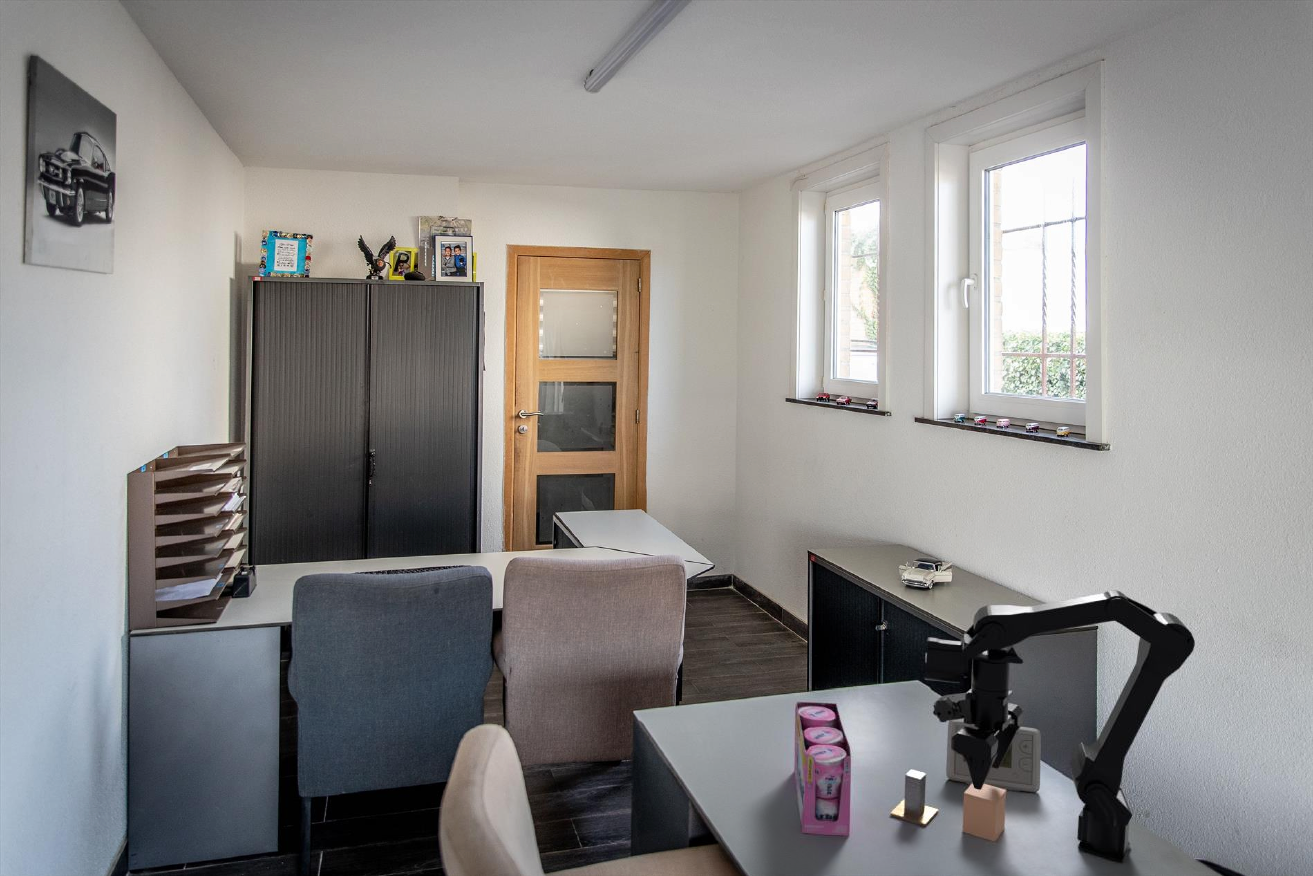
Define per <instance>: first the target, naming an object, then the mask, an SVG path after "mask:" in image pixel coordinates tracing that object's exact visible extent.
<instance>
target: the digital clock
mask: <svg viewBox="0 0 1313 876" xmlns="http://www.w3.org/2000/svg"><path fill="white" fill-rule="evenodd" d="M964 726H965V727H970V728H974V729H979V728H977V727H975V726H974V724H971V725H970V724H966V723H964V718H963V719H957V720H948V724H947V740H946V741H947V744H946V765H945V766H946V769H945V770H946V771H945V772H946V777H947V779H948V780H950V781H955V782H961V783H966V784H967V785H971V784H972V783H973V782H972V779H971V775H970V772H969V768H968V765H967V762H966V759H965V758H964V757H963V756H962V755H961V754H958V753H956V751H953V750H952V749H951V737H952V736H953V735H954V734H955V733H956V732H957V731H958V730H960V729H961V728H963V727H964ZM1041 737H1042V736H1041V731H1040V730H1039V729H1037V728H1033V727H1026V726H1020V729H1019V730H1018V732H1017V734H1016V736H1015V738H1014V740H1013V742H1012V743H1011V745H1010V747H1009V749H1008V751H1007V753H1006V755H1005V757H1004V759H1003V761H1002V763H1001V765H1000V767H999V768H998V769H996V768H993V767H991V769H990V772H989V774H988V776H987V778H986V780H985V783H984V784H987V785H991V786H994V787H998V788H1001V789H1005V790H1006V791H1013V790H1016V791H1015V792H1019V791H1022V792H1023V791H1024V792H1027V793H1028V792H1029V793H1038V792H1039V791H1040V789H1041V759H1042V758H1041V756H1042V755H1041V746H1042V744H1041V743H1042V741H1041V740H1042V739H1041Z"/></svg>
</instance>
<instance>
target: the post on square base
mask: <svg viewBox="0 0 1313 876" xmlns="http://www.w3.org/2000/svg"><path fill="white" fill-rule="evenodd" d="M926 779H927V773H925V772H923V771H918V770H916V769H910V770H909V771H908V772H907V773H905V777H904V798H903V799H902V801H901V802H899V803H898V804H897V806H896V807H895V808H894V809H893V810H892V811H891V812H890V814H889V815H890V816H891V817H894V818H897V819H900V820H903V821H906V822H909V823H912V824H915V825H918V826H922V827H925V828H926V826H927V825H929V823H930V822H931V821H932V820H933V818H934V817H935V816H936V815H937V814H938V813H939V809H938V808H934V807H930V806H928V805H926V787H927V786H926V783H927V780H926Z"/></svg>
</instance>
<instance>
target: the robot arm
mask: <svg viewBox="0 0 1313 876" xmlns="http://www.w3.org/2000/svg"><path fill="white" fill-rule="evenodd" d="M972 622H973V624H971V626H970V627H969V628H968V629H967V630H966V631H965V633H963V634H962V635H961V637H960V641H959V640H948V639H940V638H938V637H937V638H936V637H927V640H926V641H927V642H926V652H925V658H924V659H925V662H924V680H926V681H933V682H934V681H935V682H944V683H954V684H961V682H963V681H964V680H965V678H969V677H968V676H969V660H971V668H972V669H971V688H970V689H969V690H968V691H967V692H962V693H960V692H959V693H953V694H952V693H951V694H945V695H942V696H940V697H939V698H938V699H937V700H936V701H935V702H934V703H933V705H932V706H933V710H932V711H933V712H932V714H933V715H934V716H936V717H937V719H938V720H939V721H938V722H940V723H947V722H949V720H957V719H964V723H966V724H970V725H971V724H974V726H975V727H977V728H979V729H974V728H970V727H965V726H964V727H963V728H961V729H960V730H958V731H957V732H956V733H955V734H954V735H953V736H952V737H951V749H952V750H953V751H956V753H958V754H961V755H962V756H963V757H964V758H965V759H966V762H967V765H968V768H969V772H970V775H971V779H972V782H973V786H974V788H975V789H978V790H981V789H982V787H983V785H984V783H985V780H986V778H987V776H988V774H989V772H990V769H991V767H993V768H996V769H998V768H999V767H1000V765H1001V763H1002V761H1003V759H1004V757H1005V755H1006V753H1007V751H1008V749H1009V747H1010V745H1011V743H1012V742H1013V740H1014V738H1015V736H1016V734H1017V732H1018V730H1019V729H1020V727H1021V725H1022V724H1023V722H1024V710H1023V709H1022V708H1021V707H1020V705H1018V704H1015V703H1010V702H1009V701H1011V699H1012V698H1013V690H1010V670H1011V669H1010V668H1011V664H1017V665H1022V664H1023V663H1024V660H1023V656H1022V653H1021V652H1019V651H1018V650H1017V649H1016V647H1015V646H1014V645H1017V644H1020V643H1021V642H1023V641H1025V640H1027V639H1029V638H1031V637H1033V636H1036V635H1039V634H1045V633H1050V632H1056V631H1057V632H1059V631H1062V630H1067V629H1074V628H1080V627H1085V626H1086V627H1087V626H1092V625H1097V624H1103V623H1109V622H1116V623H1118V624H1120V625H1121V626H1122V627H1125V628H1126V629H1127V630H1129V631H1130V632H1132V633H1133V634H1134V635H1136V636H1138V637H1139V640H1138V645H1137V646H1138V647H1137V654H1136V661H1135V665H1134V667H1133V669H1132V670H1131V672H1130V675H1129V677H1128V679H1127V681H1125V682H1126V683H1125V685H1124V686H1123V688H1122V691H1120V695H1119V696H1118V699H1117V700H1116V702H1115V704H1114V707H1113V708H1112V710H1111V713H1110V714H1109V717H1108V718H1107V720H1106V722H1105V725H1104V726H1103V728H1102V730H1101V732H1100V734H1099V736H1098V737H1097V739H1096V740H1095V741H1093V743H1092V744H1090V745H1089V746H1088V745H1087V744H1086V743H1084V742H1079V745H1078V747H1077V751H1076V754H1075V756H1073V758H1072V759H1071V760H1070V761H1069V765H1070V767H1071V776H1072V781H1073V784H1074V787H1075V791H1076V793H1077V796H1078V798H1079V799H1080V801H1081V802H1082V803H1083V804H1084V805H1083V807H1082V810H1081V811H1080V813H1079V814H1078V817H1077V819H1078V820H1077V836H1076V837H1077V838H1076V839H1077V841H1079V843H1078V844H1077V849H1078V850H1080V851H1082V852H1086V853H1089V854H1093V855H1095V856H1099V857H1102V858H1105V859H1108V860H1112V861H1115V862H1118V863H1124V861H1125V859H1126V857H1127V855H1128V852H1129V849H1130V847H1131V843H1130V842H1129V834H1130V833H1129V831H1130V830H1129V829H1130V821H1131V819H1132V817H1133V813H1132V811H1131V807H1130V806H1129V802H1128V801H1127V799H1126V796H1125V793H1124V791H1123V788H1122V787H1121V784H1122V780H1123V771H1124V762H1125V759H1126V757H1127V754H1128V752H1129V750H1130V749H1131V747H1132V745H1133V743H1134V741H1135V739H1136V737H1137V735H1138V733H1139V731H1140V729H1141V727H1142V725H1143V722H1144V721H1145V719H1146V717H1147V716H1148V714H1149V711H1150V709H1152V705H1153V704H1154V702H1155V700H1156V698H1157V696H1158V694H1159V692H1160V690H1161V688H1162V686H1163V684H1164V682H1165V681H1166V680H1168V678H1169V677H1170V676H1172V675H1173V674H1175V672H1177V671H1178V670H1180V668H1181V667H1182V666H1183V665H1184V663H1185V662H1186V661H1187V660H1188V658H1189V657H1190V656H1191V655H1192V653H1193V652H1194V649H1195V644H1196V643H1195V638H1194V636H1193V633H1192V632H1191V631H1190V630H1189V629H1188V628H1187V626H1186V625H1185V624H1184V623H1183V622H1182V621H1181V620H1180V619H1179V617H1178V616H1176V615H1174V614H1172V613H1169V612H1157V611H1156V610H1154V609H1152V608H1150V607H1148V606H1146V605H1145V604H1143V603H1141V602H1139V601H1136V600H1134V599H1132V598H1130V597H1129V596H1127V595H1125V594H1124V593H1123V592H1122V591H1119V590H1107V591H1105V592H1102V593H1098V594H1092V595H1087V596H1081V597H1075V598H1069V599H1064V600H1059V601H1054V602H1053V601H1052V602H1048V603H1043V604H1036V605H1032V606H1031V605H1030V606H1021V605H1020V606H1019V605H1012V604H997V605H996V604H995V605H993V604H990V605H985V606H982V607H980V608H979V609H978V610H977V611H976V613H975V614H974V617H973V621H972ZM1012 721H1013V723H1012Z"/></svg>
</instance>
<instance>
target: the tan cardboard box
mask: <svg viewBox="0 0 1313 876" xmlns="http://www.w3.org/2000/svg"><path fill="white" fill-rule="evenodd" d="M1006 799H1007V790H1006V789H1001V788H998V787H994V786H991V785H987V784H984V785H983V787H982V789H981V790H978V789H975V788H974V786H973V783H972V784H969V787H968V788H967V789H966V790H965V791H964V792H963V807H962V808H963V810H962V812H963V815H962V832H963V833H967V834H970V835H973V836H976V837H979V838H983V839H985V840H987V841H988V840H989V841H991V842H996V841H997V840H998V838H999V836H1001V834H1002V833H1003V831H1004V829H1005V826H1006V823H1005V822H1006V805H1007V803H1006V802H1007V801H1006Z"/></svg>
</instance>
